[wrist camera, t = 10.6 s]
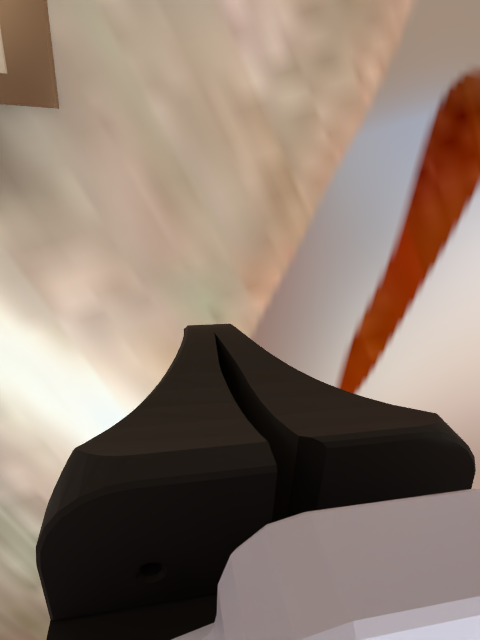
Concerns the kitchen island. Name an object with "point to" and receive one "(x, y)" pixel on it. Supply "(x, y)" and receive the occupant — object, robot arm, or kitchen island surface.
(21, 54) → the board
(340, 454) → the robot arm
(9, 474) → the kitchen island surface
